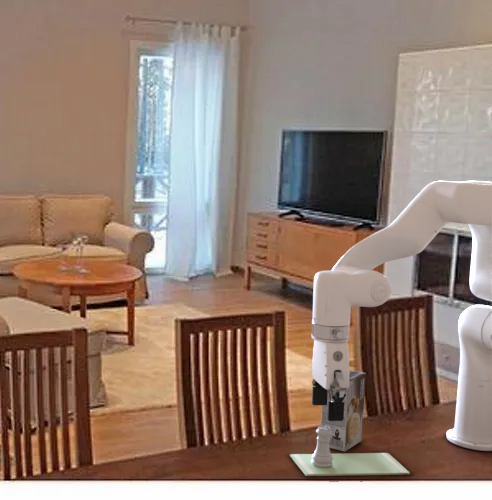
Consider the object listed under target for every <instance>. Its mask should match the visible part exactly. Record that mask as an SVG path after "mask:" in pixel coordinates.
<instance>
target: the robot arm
mask: <svg viewBox="0 0 492 500" xmlns="http://www.w3.org/2000/svg"><path fill="white" fill-rule="evenodd" d="M449 223H456V224H463V225H468V228H469V230H470V232H471V238H472V243H471V244H472V245H471V246H472V247H471V258H470V268H469V289H470V292H471V294H473V296H475V297H476V298H479V299H482V300H484V301H488V302H492V181H486V180H465V181H450V180H449V181H448V180H437V181H435V180H434V181H432V182H429V183H428V184H426V185H424V187H423V188H422V189H421V190H420V191H419V192H418V193H417V194H416V195H415V197H414V198H413V199H412V200H411V201H410V202H409V203H408V205H407V206H406V207H405V208H404V209H403V210H402V211H401V212H400V213H399V215H398V216H397V217H396V218H395V219H394V220H393V221H392V222H391V223H390V224H389V225H388V226H386V227H384V228H382V229H380V230H378V231H376V232H374V233H372V234H370V235H368V236H367V237H365V238H363V239H362V240H360V241H358V242H356V243H355V244H354V245H353V246H351V247H350V248H349V249H348V250H347V251H346V252H345V253H344V254H343V255H342V256H341V257H340V259H338V261H337V262H336V263H335V265H334V266H332V269H331V270H320V271H317V272H316V273H315V275H314V276H313V289H312V290H313V293H312V320H311V339H312V340H313V348H312V360H311V361H312V362H311V375H312V378H313V379H312V381H311V385H312V389H311V390H312V391H311V404H312V406H322V405H327V396H328V393H329V398H330V401H328V416H327V419H328V420H329V421H343V419H344V402H345V396H346V393H345V392H346V390H347V389H348V388H349V370H350V351H349V343H348V342H349V341H350V331H351V329H350V328H351V313H352V312H351V311H352V307H361V308H376V307H380V306H382V305H383V304H385V303H386V302H387V301H388V300H389V299H390V298H391V297H390V296H391V294H392V284H391V282H390V279H389V278H388V277H387V276H386V275H385V274H383V273H381V272H379V271H378V270H374V269H375V268H377V267H379V266H381V265H384V264H386V263H388V262H392V261H396V260H401V259H405V258H409V257H412V256H415V255H418V254H420V253H422V252H423V251H424V250H425V249H426V247H428V245H429V244H430V243H431V242H432V241H433V240H434V239H435V237H436V236H437V235H438V234H439V233H440V232H441V231H442V230H443V229H444V227H445V226H446V225H447V224H449ZM457 332H458V333H457V334H458V341H459V367H458V368H459V369H458V381H457V393H456V405H455V416H454V425H453V426H454V427H453V428H451V429H448V430H447V431H446V439H447V440H448V441H449V442H450V443H451V444H454V445H456V446H458V447H462V448H465V449H470V450H474V451H480V452H481V451H482V452H492V306H491V305H485V304H474V305H471V306H469V307H467V308H465V309H464V310H463V311H462V313H461V314H460V316H459V319H458V324H457ZM337 385H338V386H337ZM333 391H338V392H336V393H335V394H333Z"/></svg>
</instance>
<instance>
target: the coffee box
mask: <svg viewBox="0 0 492 500" xmlns="http://www.w3.org/2000/svg"><path fill="white" fill-rule="evenodd" d="M366 375H367V373H366V372H362V371H357V370H351V369H349V388H348V389H347V390H346V392H345V393H346V396H345V402H344V419H343V421H329V420H328V419H327V416H328V401H330V398H329V393H328V396H327V405H321V411H320V413H321V414H320V425H323V428H325V426H327V428H328V427H330V430H331V432H332V434H331V435H330V437H329V438H330V441H329V449H332V450H337V451H340V452H343V453H345V452H347V451H349V450H350V449H351V448H353V447H354V446H356V445H357V444H359V443H361V442H362V441H363V440H362V437H363V425H364V424H363V423H364V409H365V393H366V392H365V391H366ZM337 386H338V385H337ZM336 392H338V391H333V394H335V393H336Z"/></svg>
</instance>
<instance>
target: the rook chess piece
mask: <svg viewBox="0 0 492 500" xmlns="http://www.w3.org/2000/svg"><path fill="white" fill-rule="evenodd" d="M315 433H316V434H317V437H316V448H315V450H314V453H312V454H313V455H312V460H311V462H312V464H313V465H314V466H316V467H320V468H328V467H331V465H332V464H333V462H332V460H333V458H332V456H331V454H332V453H331V448H329V441H330V438H329V437H330V435H331V434H332V432H331V430H330V427H328V428H327V426H325V428H323V425H321V424H320V425H318V426H317V429H316V430H315Z"/></svg>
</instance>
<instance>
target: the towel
mask: <svg viewBox="0 0 492 500" xmlns="http://www.w3.org/2000/svg"><path fill="white" fill-rule="evenodd" d="M313 454H314V453H289V457H290V458H291V460H293V462H294V463H295V464H296V466H297V467H298V468H299V470H300V471H301V472H302V474H304V476H305V477H334V476H335V477H338V476H339V477H341V476H343V477H344V476H390V475H391V476H392V475H393V476H395V475H396V476H397V475H398V476H399V475H402V476H403V475H411V472H410V471H409V470H407V469H406V467H404V466H403V464H401V463H400V462H399V461H398V460H397V459H396V458H394V457H393V456H392V455H391V454H390V453H389V452H364V453H363V452H361V453H359V452H356V453H355V452H354V453H352V452H351V453H350V452H349V453H345V452H343V453H331V456H332V458H333V460H332V462H333V464H332V465H331V467H328V468H320V467H316V466H314V465H313V464H312V462H311V460H312V455H313Z"/></svg>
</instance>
